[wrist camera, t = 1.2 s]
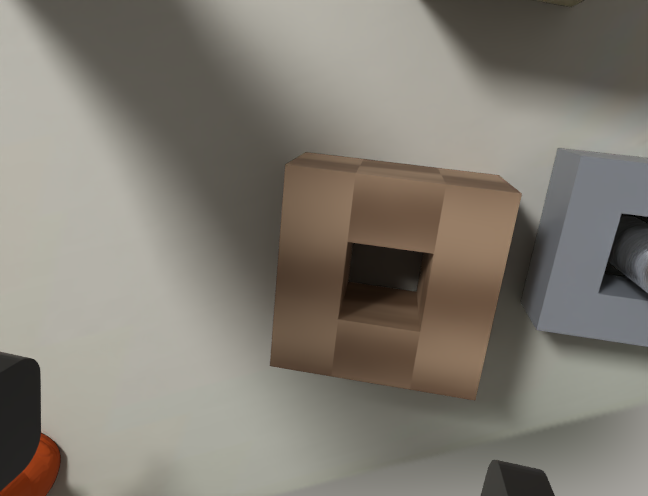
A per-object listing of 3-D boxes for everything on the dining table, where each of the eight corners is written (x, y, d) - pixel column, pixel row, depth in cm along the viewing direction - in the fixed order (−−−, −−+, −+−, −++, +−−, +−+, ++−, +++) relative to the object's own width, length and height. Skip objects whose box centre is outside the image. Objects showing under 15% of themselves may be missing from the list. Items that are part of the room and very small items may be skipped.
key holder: (557, 147, 29) (581, 155, 26) (739, 168, 28) (792, 179, 25) (520, 302, 32) (536, 329, 29) (683, 326, 31) (722, 358, 28)
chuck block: (305, 152, 32) (285, 164, 26) (498, 175, 30) (521, 193, 25) (290, 322, 35) (270, 365, 30) (462, 349, 34) (475, 400, 28)
